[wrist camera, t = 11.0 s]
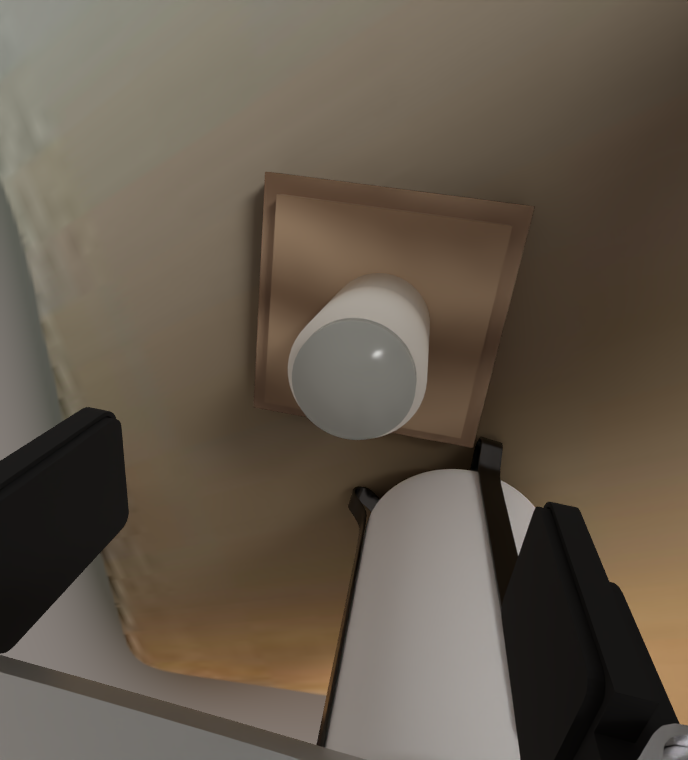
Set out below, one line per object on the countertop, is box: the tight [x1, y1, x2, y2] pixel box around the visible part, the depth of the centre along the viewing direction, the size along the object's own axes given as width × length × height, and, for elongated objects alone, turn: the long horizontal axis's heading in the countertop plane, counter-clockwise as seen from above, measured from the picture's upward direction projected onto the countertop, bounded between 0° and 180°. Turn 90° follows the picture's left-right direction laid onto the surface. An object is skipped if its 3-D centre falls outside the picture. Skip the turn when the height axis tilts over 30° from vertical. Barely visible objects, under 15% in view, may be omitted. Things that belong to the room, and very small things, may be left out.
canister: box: [288, 273, 430, 440], centre depth 22 cm, size 6×6×9 cm
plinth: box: [254, 172, 535, 448], centre depth 28 cm, size 14×14×3 cm
